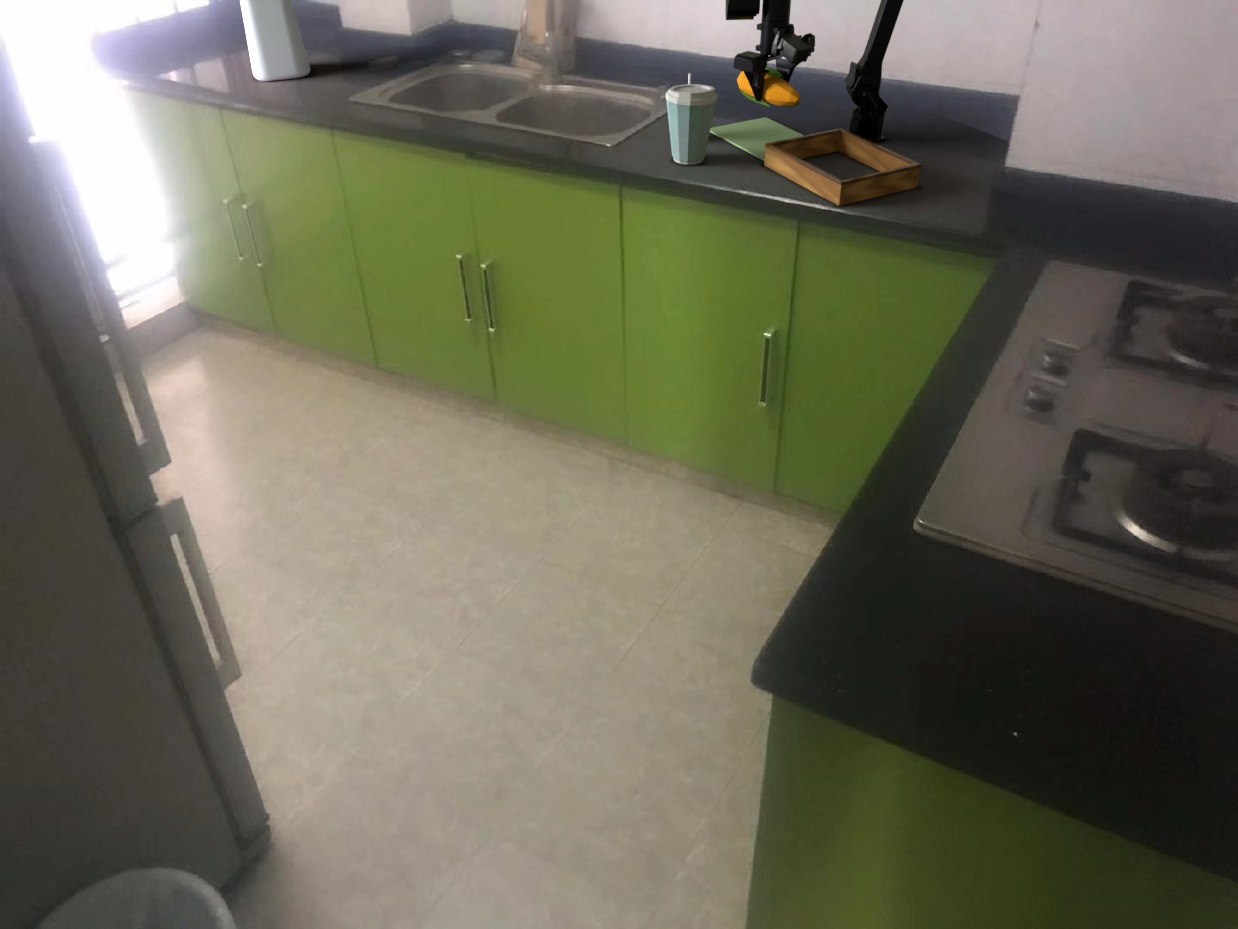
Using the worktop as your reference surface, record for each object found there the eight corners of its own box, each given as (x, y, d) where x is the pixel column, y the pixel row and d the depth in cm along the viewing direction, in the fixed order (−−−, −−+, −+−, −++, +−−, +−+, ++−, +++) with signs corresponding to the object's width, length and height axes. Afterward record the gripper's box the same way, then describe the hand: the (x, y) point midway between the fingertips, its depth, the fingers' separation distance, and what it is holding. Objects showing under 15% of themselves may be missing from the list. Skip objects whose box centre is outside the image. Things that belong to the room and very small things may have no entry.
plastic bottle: (312, 77, 258) (288, -38, 241) (254, 83, 254) (226, -33, 237) (308, 63, 269) (285, -47, 252) (253, 69, 266) (226, -43, 249)
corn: (756, 54, 208) (815, 74, 194) (756, 89, 213) (813, 112, 199) (728, 62, 206) (786, 83, 192) (729, 97, 210) (785, 121, 197)
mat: (765, 119, 221) (765, 116, 221) (828, 149, 204) (829, 146, 203) (706, 130, 215) (706, 128, 215) (766, 162, 198) (766, 160, 198)
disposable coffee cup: (656, 156, 203) (656, 83, 194) (700, 148, 206) (703, 76, 197) (677, 171, 195) (679, 96, 186) (724, 163, 198) (727, 89, 189)
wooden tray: (838, 149, 203) (840, 127, 201) (918, 187, 185) (922, 163, 183) (763, 165, 197) (764, 143, 194) (838, 206, 179) (841, 182, 176)
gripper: (776, 33, 185) (770, 115, 194) (835, 16, 194) (827, 95, 204) (733, 24, 191) (730, 103, 201) (793, 8, 201) (787, 85, 211)
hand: (770, 97), depth 204 cm, fingers closed on corn, 7 cm apart
